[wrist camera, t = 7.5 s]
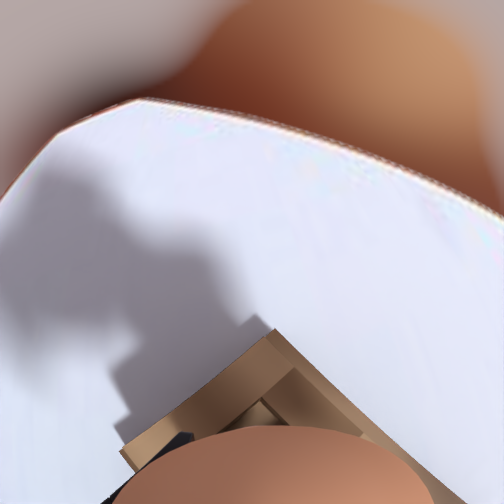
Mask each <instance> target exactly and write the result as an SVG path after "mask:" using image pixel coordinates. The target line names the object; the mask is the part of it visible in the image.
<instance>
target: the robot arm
mask: <svg viewBox="0 0 504 504" xmlns="http://www.w3.org/2000/svg"><path fill="white" fill-rule="evenodd" d="M193 441H195V437H194V434H193V433H192V432H184V431H181V432H179V433H178V434H177V435H176V436H174V437H173V438H172V439H171V440H170V441H169V442H168V443H167V444H166V445H165V446H164V447H163V448H162V449H161V450H160V451H159V452H158V453H157V454H156V455H155V456H154V457H153V458H152V459H150V460H149V461H148V462H147V463H146V464H145V465H144V466H143V467H142V468H141V469H140V470H139V471H137V472H136V473H135V474H134V475H133V476H132V477H131V478H130V479H129V480H127V481H126V482H125V483H124V484H123V485H122V486H121V487H120V488H118V489H117V490H116V491H115V492H114V493H113V494H112V495H110V498H107V499H106V500H104V501H103V502H102V503H101V504H112V503H113V502H114V500H115V499H116V497H117V496H118V494H119V493H120V491H121V490H122V488H123V487H124V486H125V485H126V484H127V483H128V482H129V481H130V480H131V479H132V478H133V477H134V476H135V475H136V474H137V473H139V472H140V471H141V470H142V469H144V468H145V467H146V466H147V465H149V464H150V463H151V462H153V461H155V460H156V459H158V458H160V457H161V456H163V455H165V454H166V453H168V452H170V451H172V450H175V449H177V448H179V447H181V446H184V445H186V444H188V443H190V442H193Z"/></svg>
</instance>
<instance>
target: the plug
mask: <svg viewBox="0 0 504 504" xmlns="http://www.w3.org/2000/svg"><path fill="white" fill-rule="evenodd" d="M112 504H434V502H433V500H432V497H431V495H430V493H429V491H428V489H427V487H426V486H425V484H424V483H423V481H422V480H421V479H420V477H419V476H418V475H417V474H416V473H415V472H414V471H413V470H412V469H411V467H410V466H409V465H408V464H407V463H405V462H404V461H403V460H401V459H400V458H399V457H397V456H396V455H394V454H393V453H392V452H390V451H388V450H386V449H384V448H382V447H381V446H379V445H377V444H375V443H373V442H370V441H367V440H365V439H362V438H360V437H357V436H354V435H350V434H346V433H342V432H338V431H335V430H328V429H321V428H315V427H304V426H261V425H259V426H248V427H244V428H240V429H236V430H232V431H228V432H224V433H220V434H215V435H211V436H209V437H206V438H203V439H200V440H196V441H193V442H190V443H188V444H186V445H184V446H181V447H179V448H177V449H175V450H172V451H170V452H168V453H166V454H165V455H163V456H161V457H160V458H158V459H156V460H155V461H153V462H151V463H150V464H149V465H147V466H146V467H145V468H144V469H142V470H141V471H140V472H139V473H137V474H136V475H135V476H134V477H133V478H132V479H131V480H130V481H129V482H128V483H127V484H126V485H125V486H124V487H123V488H122V490H121V491H120V493H119V494H118V496H117V497H116V499H115V500H114V502H113V503H112Z"/></svg>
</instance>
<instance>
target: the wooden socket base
mask: <svg viewBox="0 0 504 504" xmlns="http://www.w3.org/2000/svg"><path fill="white" fill-rule="evenodd" d="M259 425H261V426H304V427H315V428H321V429H328V430H335V431H338V432H342V433H346V434H350V435H354V436H357V437H360V438H362V439H365V440H367V441H370V442H373V443H375V444H377V445H379V446H381V447H382V448H384V449H386V450H388V451H390V452H392V453H393V454H394V455H396V456H397V457H399V458H400V459H401V460H403V461H404V462H405V463H407V464H408V465H409V466H410V467H411V469H412V470H413V471H414V472H415V473H416V474H417V475H418V476H419V477H420V479H421V480H422V481H423V483H424V484H425V486H426V487H427V489H428V491H429V493H430V495H431V497H432V500H433V502H434V504H467V503H465V502H464V501H463V500H462V499H461V498H459V497H458V496H457V495H456V494H454V493H453V492H452V491H451V490H450V489H448V488H447V487H446V486H445V485H444V484H443V483H441V482H440V481H439V480H438V479H437V478H435V477H434V476H433V475H432V474H431V473H430V472H428V471H427V470H426V469H425V468H424V467H423V466H422V465H420V464H419V463H418V462H417V461H416V460H415V459H414V458H412V457H411V456H410V455H409V454H408V453H407V452H406V451H404V450H403V449H402V448H401V447H400V446H399V445H398V444H397V443H395V442H394V441H393V440H392V439H391V438H390V437H389V436H388V435H387V434H385V433H384V432H383V431H382V430H381V429H380V428H379V427H378V426H377V425H376V424H374V423H373V422H372V421H371V420H370V419H369V418H368V417H367V416H366V415H365V414H364V413H362V412H361V411H360V410H359V409H358V408H357V407H356V406H355V405H354V404H353V403H352V402H351V401H350V400H349V399H347V398H346V397H345V396H344V395H343V394H342V393H341V392H340V391H339V390H338V389H337V388H336V387H335V386H334V385H333V384H332V383H331V382H330V381H328V380H327V379H326V378H325V377H324V376H323V375H322V374H321V373H320V372H319V371H318V370H317V369H316V368H315V367H314V366H313V365H312V364H311V363H310V362H309V361H308V360H307V359H306V358H305V357H304V356H303V355H302V354H301V353H299V352H298V351H297V350H296V349H295V348H294V347H293V346H292V345H291V344H290V343H289V342H288V341H287V340H286V339H285V338H284V337H283V336H282V335H281V334H280V333H279V332H278V331H277V330H276V329H274V330H272V331H271V332H270V333H269V334H268V335H267V336H266V337H262V338H261V339H260V340H259V341H258V342H257V343H255V344H254V345H253V346H252V347H251V348H250V349H248V350H247V351H246V352H245V353H244V354H243V355H241V356H240V357H239V358H238V359H237V360H235V361H234V362H233V363H232V364H231V365H229V366H228V367H227V368H226V369H225V370H223V371H222V372H221V373H220V374H218V375H217V376H216V377H215V378H214V379H212V380H211V381H210V382H209V383H207V384H206V385H205V386H204V387H202V388H201V389H200V390H198V391H197V392H196V393H195V394H193V395H192V396H191V397H190V398H188V399H187V400H186V401H184V402H183V403H182V404H181V405H179V406H178V407H177V408H175V409H174V410H173V411H171V412H170V413H169V414H167V415H166V416H165V417H163V418H162V419H161V420H159V421H158V422H157V423H155V424H154V425H153V426H151V427H150V428H148V429H147V430H146V431H144V432H143V433H142V434H140V435H139V436H137V437H136V438H135V439H133V440H132V441H130V442H129V443H128V444H126V445H125V446H123V447H122V448H123V449H121V450H120V451H119V452H120V454H121V455H122V456H123V458H124V459H125V460H126V462H127V463H128V464H129V465H130V467H131V468H132V469H133V470H134V472H135V473H136V472H137V471H139V470H140V469H141V468H142V467H143V466H144V465H145V464H146V463H147V462H148V461H149V460H150V459H152V458H153V457H154V456H155V455H156V454H157V453H158V452H159V451H160V450H161V449H162V448H163V447H164V446H165V445H166V444H167V443H168V442H169V441H170V440H171V439H172V438H173V437H174V436H176V435H177V434H178V433H179V432H181V431H184V432H192V433H193V434H194V437H195V441H196V440H200V439H203V438H206V437H209V436H211V435H215V434H220V433H224V432H228V431H232V430H236V429H240V428H244V427H248V426H259Z"/></svg>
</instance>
